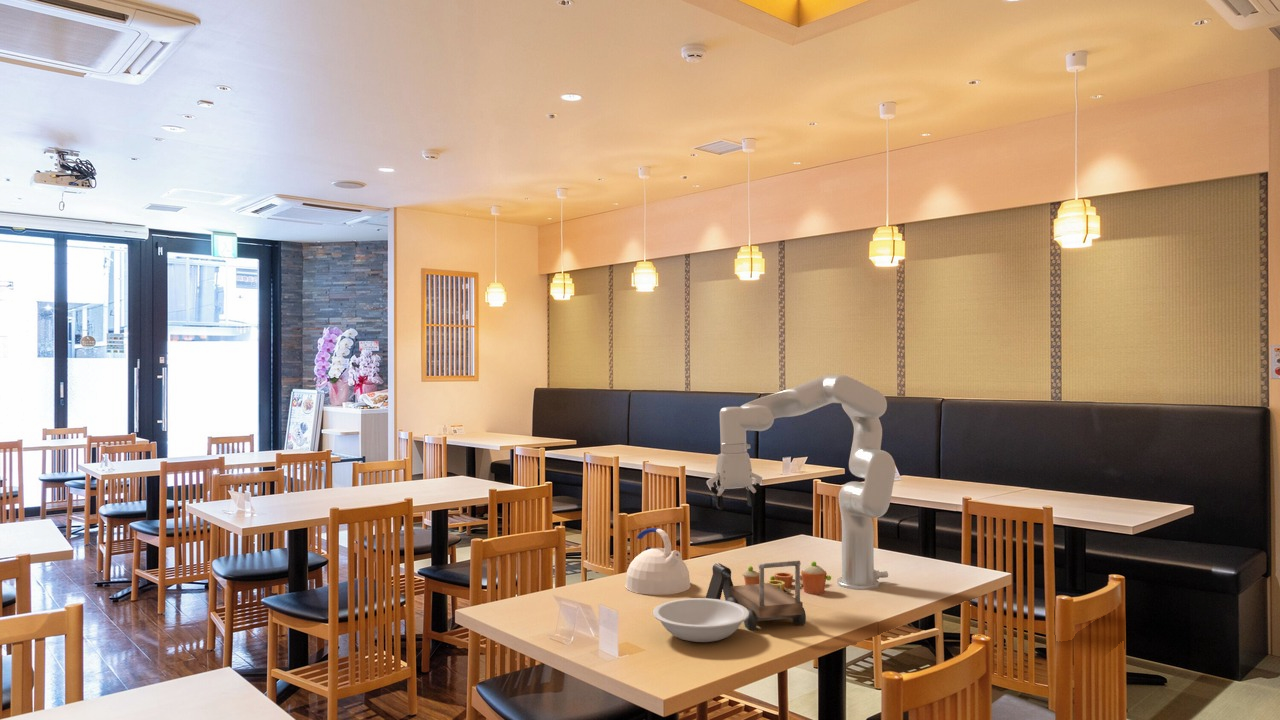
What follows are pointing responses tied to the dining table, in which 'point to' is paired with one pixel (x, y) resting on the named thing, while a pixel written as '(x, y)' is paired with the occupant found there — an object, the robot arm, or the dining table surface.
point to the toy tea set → (809, 579)
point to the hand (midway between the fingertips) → (735, 507)
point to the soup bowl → (701, 618)
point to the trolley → (769, 599)
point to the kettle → (658, 569)
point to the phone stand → (720, 582)
